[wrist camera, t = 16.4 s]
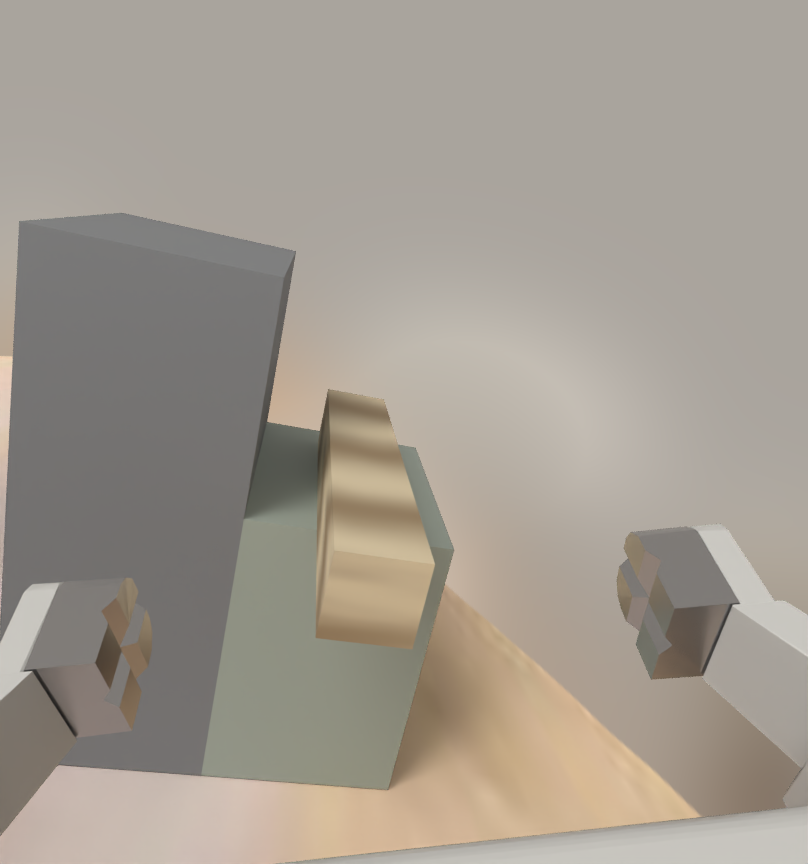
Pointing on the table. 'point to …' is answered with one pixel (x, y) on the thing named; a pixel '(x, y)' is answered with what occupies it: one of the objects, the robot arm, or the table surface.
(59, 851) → the table surface
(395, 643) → the batten
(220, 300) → the step stand
